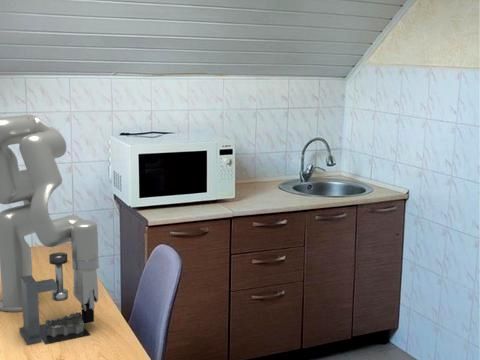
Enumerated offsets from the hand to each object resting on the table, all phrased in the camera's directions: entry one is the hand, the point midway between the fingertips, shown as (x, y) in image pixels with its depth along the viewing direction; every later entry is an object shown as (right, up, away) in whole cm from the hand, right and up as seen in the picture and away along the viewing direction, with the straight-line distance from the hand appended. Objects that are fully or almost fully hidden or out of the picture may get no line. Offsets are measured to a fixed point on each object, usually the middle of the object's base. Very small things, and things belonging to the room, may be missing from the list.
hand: (88, 321), depth 201 cm
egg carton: (-6, -2, -4) cm, 7 cm away
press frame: (-9, -2, -4) cm, 10 cm away
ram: (-7, +8, -5) cm, 12 cm away
